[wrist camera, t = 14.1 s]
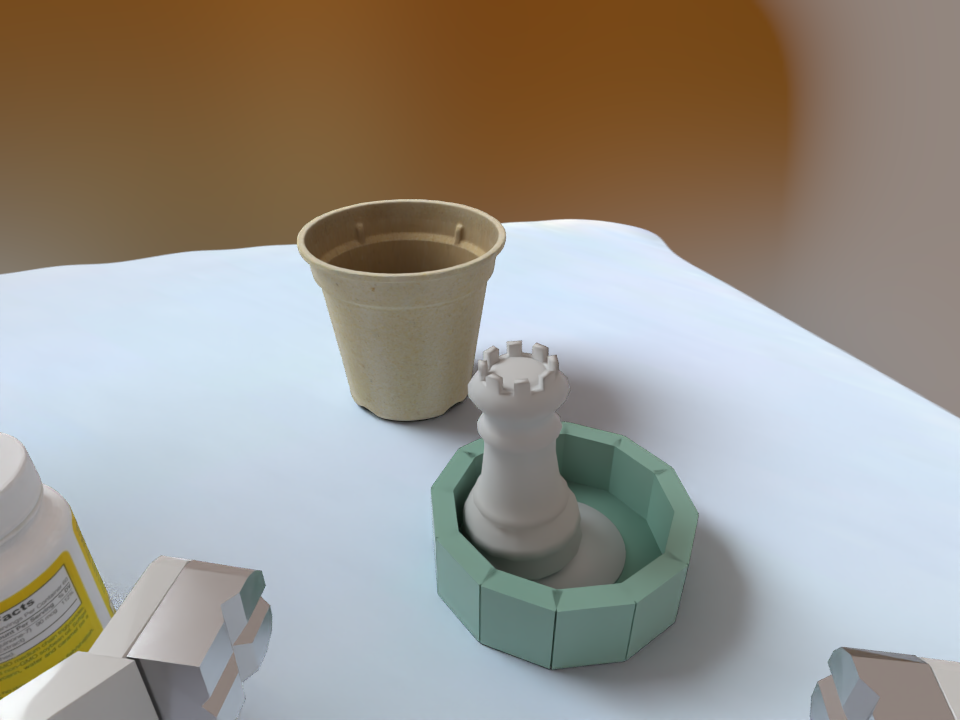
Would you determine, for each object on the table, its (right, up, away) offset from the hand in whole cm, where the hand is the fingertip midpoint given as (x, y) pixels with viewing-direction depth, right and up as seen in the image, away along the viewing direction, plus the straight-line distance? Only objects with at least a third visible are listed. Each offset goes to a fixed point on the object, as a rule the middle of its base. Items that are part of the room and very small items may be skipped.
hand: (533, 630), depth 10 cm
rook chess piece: (+1, -3, +16) cm, 16 cm away
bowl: (+2, -3, +16) cm, 16 cm away
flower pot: (-4, +2, +26) cm, 26 cm away
